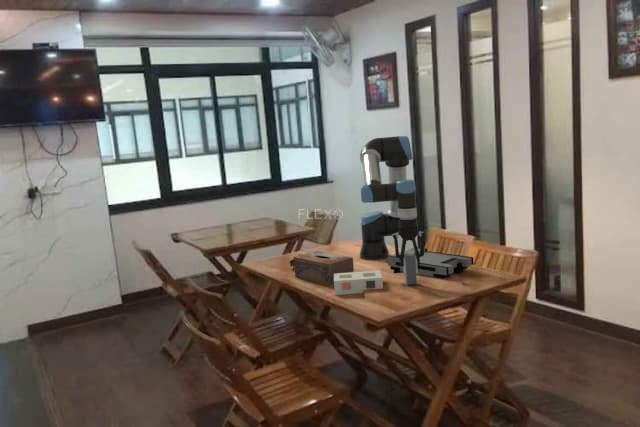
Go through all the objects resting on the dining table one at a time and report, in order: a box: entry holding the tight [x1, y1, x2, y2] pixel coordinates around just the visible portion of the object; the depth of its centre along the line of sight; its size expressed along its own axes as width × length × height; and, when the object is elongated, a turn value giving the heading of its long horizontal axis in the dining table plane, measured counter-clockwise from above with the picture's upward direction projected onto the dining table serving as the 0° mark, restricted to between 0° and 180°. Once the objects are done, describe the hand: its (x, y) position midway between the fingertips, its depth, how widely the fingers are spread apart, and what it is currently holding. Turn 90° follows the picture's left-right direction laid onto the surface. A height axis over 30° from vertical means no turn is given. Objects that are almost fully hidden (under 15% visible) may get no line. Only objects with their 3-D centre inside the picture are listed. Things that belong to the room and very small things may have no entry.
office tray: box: [387, 246, 475, 279], centre depth 253 cm, size 21×32×8 cm, turn 43°
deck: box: [400, 281, 423, 289], centre depth 231 cm, size 8×8×2 cm
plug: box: [404, 251, 418, 284], centre depth 230 cm, size 4×4×13 cm
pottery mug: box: [289, 253, 302, 268], centre depth 281 cm, size 12×10×8 cm
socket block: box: [333, 269, 384, 296], centre depth 236 cm, size 12×20×6 cm, turn 89°
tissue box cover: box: [293, 250, 355, 286], centre depth 259 cm, size 26×14×10 cm, turn 40°
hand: (410, 273), depth 231 cm, fingers closed on plug, 4 cm apart
